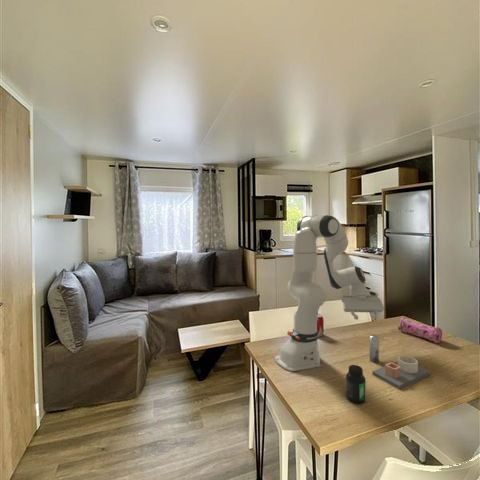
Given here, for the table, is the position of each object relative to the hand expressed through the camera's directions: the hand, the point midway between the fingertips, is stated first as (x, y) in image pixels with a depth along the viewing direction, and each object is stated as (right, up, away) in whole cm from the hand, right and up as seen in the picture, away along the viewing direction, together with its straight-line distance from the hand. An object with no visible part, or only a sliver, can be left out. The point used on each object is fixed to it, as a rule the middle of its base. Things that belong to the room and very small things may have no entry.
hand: (365, 319), depth 140 cm
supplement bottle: (-22, -19, -38) cm, 48 cm away
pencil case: (+38, -15, +15) cm, 44 cm away
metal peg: (-1, -17, -11) cm, 20 cm away
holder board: (+4, -17, -23) cm, 29 cm away
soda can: (-19, -16, +20) cm, 32 cm away
